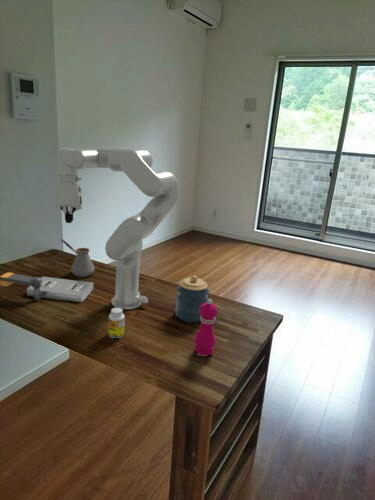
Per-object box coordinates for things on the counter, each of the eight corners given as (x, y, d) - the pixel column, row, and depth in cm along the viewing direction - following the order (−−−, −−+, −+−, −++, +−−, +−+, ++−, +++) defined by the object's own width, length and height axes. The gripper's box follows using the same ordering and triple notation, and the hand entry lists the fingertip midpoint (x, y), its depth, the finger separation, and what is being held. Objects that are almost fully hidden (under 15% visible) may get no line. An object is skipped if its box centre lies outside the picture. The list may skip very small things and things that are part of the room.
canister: (209, 311, 158) (213, 273, 152) (202, 326, 146) (206, 284, 140) (180, 306, 161) (183, 267, 155) (170, 319, 149) (173, 278, 143)
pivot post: (41, 299, 156) (41, 285, 154) (38, 301, 154) (38, 287, 152) (36, 298, 156) (35, 284, 154) (33, 300, 154) (32, 287, 152)
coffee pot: (99, 274, 187) (100, 245, 182) (82, 280, 177) (82, 251, 173) (70, 263, 197) (69, 236, 192) (52, 269, 187) (51, 240, 183)
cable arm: (44, 287, 155) (44, 277, 154) (37, 292, 151) (37, 281, 149) (8, 281, 158) (7, 271, 157) (0, 285, 154) (-1, 275, 152)
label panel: (93, 288, 170) (93, 282, 169) (82, 302, 157) (82, 294, 155) (42, 282, 172) (42, 275, 170) (27, 295, 158) (26, 288, 157)
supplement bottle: (104, 335, 134) (105, 309, 131) (117, 329, 138) (117, 304, 135) (114, 341, 130) (115, 315, 127) (127, 335, 134) (128, 310, 131)
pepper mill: (213, 346, 133) (219, 295, 126) (215, 358, 126) (221, 304, 120) (193, 345, 132) (198, 294, 126) (194, 357, 125) (199, 303, 119)
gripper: (89, 179, 156) (89, 222, 162) (54, 176, 157) (56, 218, 163) (82, 181, 149) (83, 226, 155) (46, 178, 150) (48, 222, 156)
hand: (69, 222), depth 159 cm, fingers closed
